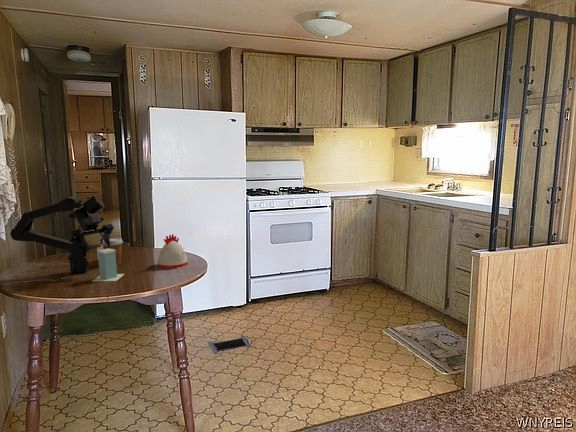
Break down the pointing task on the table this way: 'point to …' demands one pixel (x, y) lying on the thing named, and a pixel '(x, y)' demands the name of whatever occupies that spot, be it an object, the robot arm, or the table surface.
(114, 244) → the disposable coffee cup
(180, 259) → the kitchen timer
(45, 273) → the table surface
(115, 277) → the plate
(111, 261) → the tea tin
